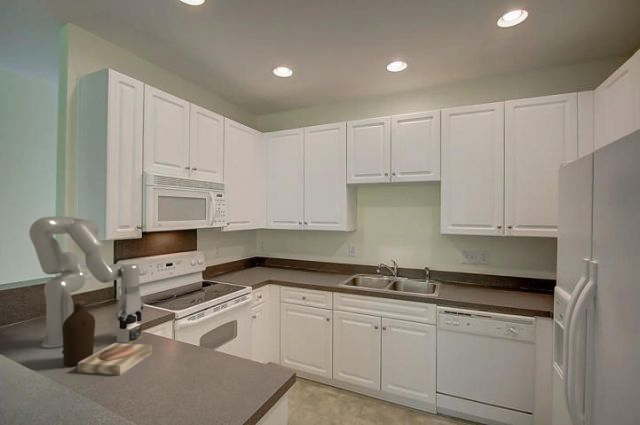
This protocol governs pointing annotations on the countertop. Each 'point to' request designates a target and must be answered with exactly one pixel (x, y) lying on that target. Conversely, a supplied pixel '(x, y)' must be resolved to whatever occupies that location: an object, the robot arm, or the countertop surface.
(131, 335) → the medicine bottle
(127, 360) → the stand
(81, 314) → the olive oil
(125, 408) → the countertop surface
